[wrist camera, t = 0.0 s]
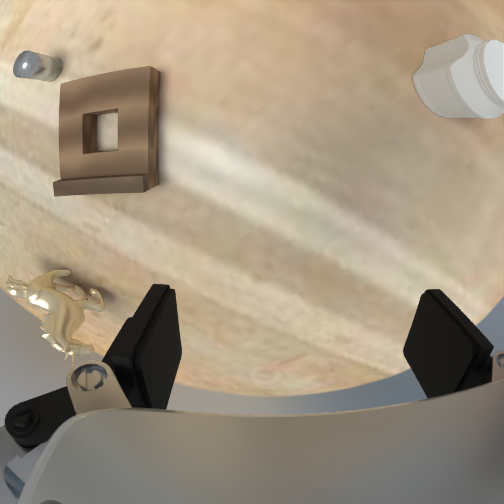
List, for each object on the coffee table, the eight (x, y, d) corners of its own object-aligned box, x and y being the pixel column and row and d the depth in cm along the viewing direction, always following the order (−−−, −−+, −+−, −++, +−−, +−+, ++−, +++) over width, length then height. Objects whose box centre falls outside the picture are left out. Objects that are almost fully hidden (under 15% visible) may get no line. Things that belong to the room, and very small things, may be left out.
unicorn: (33, 266, 44) (-24, 313, 28) (35, 248, 43) (-27, 292, 27) (122, 314, 47) (80, 382, 31) (127, 296, 46) (81, 364, 30)
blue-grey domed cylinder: (45, 62, 31) (15, 55, 24) (63, 55, 31) (33, 47, 24) (43, 84, 33) (11, 80, 25) (61, 78, 33) (30, 73, 25)
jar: (449, 129, 35) (516, 135, 21) (405, 89, 34) (468, 76, 20) (472, 77, 32) (535, 71, 18) (431, 38, 30) (489, 15, 16)
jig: (75, 86, 34) (52, 82, 28) (159, 72, 34) (145, 62, 28) (75, 188, 39) (54, 196, 34) (158, 184, 39) (143, 192, 34)
